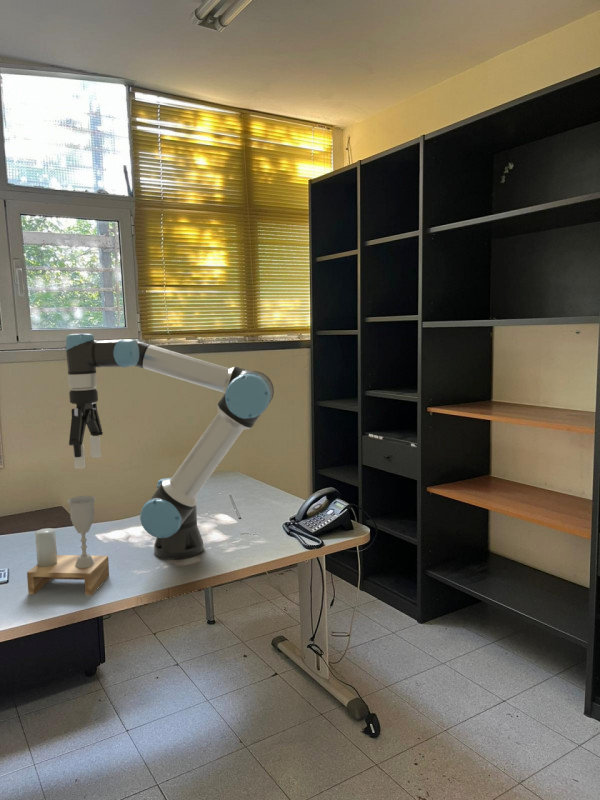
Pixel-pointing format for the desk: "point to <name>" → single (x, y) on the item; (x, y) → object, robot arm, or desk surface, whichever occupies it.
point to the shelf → (69, 573)
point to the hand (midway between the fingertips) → (88, 462)
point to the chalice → (82, 524)
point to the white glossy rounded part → (46, 547)
